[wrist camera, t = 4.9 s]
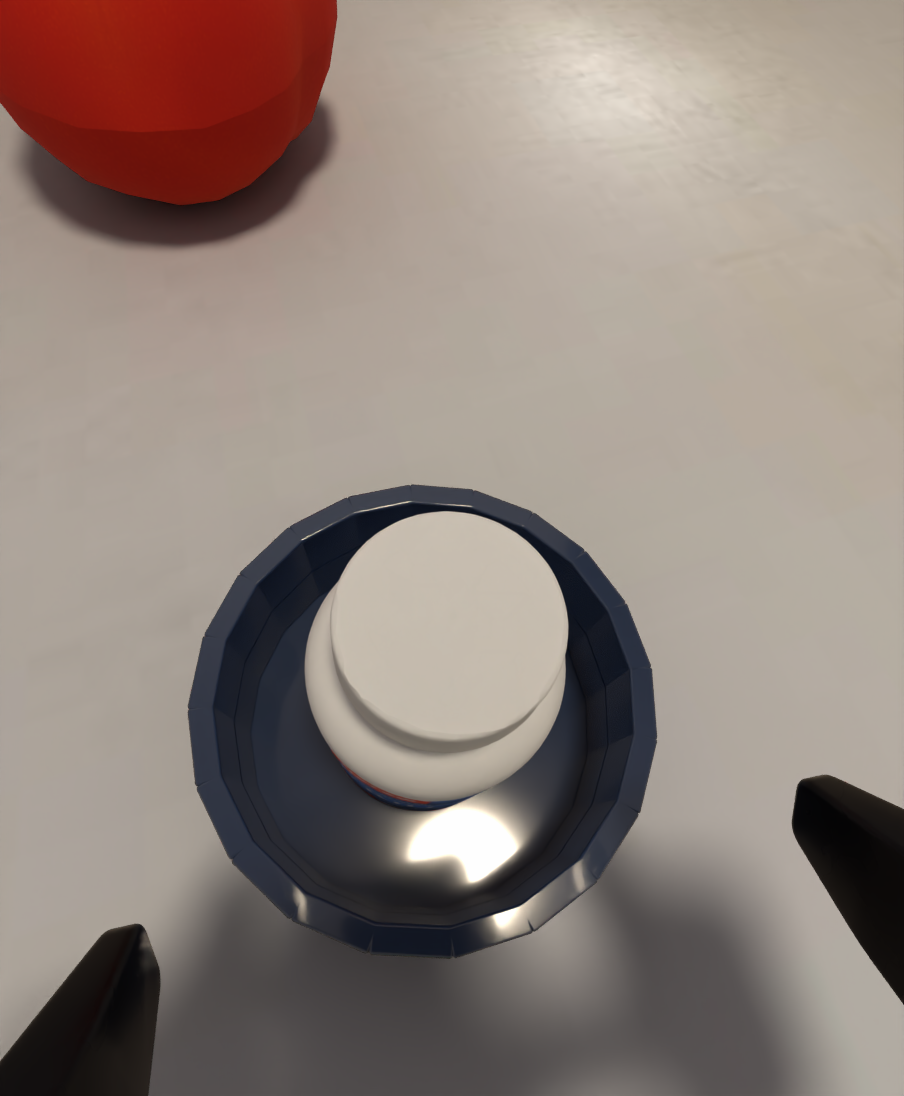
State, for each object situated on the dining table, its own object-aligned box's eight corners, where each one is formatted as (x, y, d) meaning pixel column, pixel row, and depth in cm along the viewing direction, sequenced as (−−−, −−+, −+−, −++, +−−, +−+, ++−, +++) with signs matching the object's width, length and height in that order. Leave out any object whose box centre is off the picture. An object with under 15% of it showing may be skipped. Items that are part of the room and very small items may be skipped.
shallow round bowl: (540, 999, 17) (584, 1051, 13) (159, 833, 18) (89, 832, 14) (640, 622, 22) (697, 572, 17) (333, 504, 22) (319, 431, 18)
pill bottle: (324, 813, 18) (254, 791, 9) (336, 629, 20) (289, 468, 12) (517, 812, 19) (625, 789, 10) (508, 631, 21) (591, 477, 12)
